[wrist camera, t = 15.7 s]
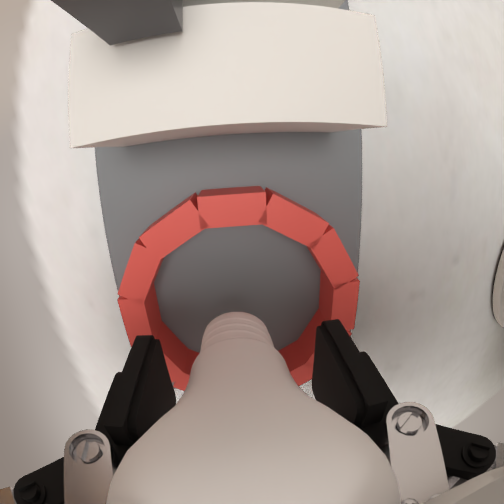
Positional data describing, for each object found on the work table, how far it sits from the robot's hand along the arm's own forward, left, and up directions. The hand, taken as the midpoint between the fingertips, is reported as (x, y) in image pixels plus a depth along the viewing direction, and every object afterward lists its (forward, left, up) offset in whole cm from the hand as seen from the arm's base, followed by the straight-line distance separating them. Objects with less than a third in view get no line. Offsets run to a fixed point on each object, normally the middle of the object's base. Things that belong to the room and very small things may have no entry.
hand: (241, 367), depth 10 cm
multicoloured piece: (+5, -3, -7) cm, 9 cm away
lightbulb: (0, 0, -3) cm, 3 cm away
